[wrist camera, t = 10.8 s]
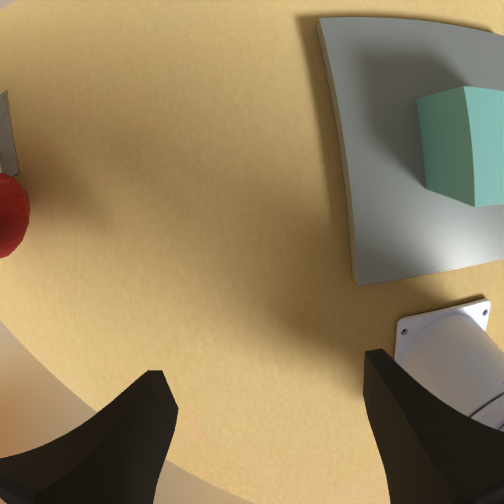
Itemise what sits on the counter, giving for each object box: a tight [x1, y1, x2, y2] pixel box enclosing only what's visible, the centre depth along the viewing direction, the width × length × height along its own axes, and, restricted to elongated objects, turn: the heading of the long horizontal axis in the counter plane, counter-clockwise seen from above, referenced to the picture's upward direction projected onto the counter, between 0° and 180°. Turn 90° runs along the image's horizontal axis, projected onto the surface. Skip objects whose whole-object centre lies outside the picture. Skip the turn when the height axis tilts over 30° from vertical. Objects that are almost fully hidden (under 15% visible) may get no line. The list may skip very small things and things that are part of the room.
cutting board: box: [316, 17, 504, 286], centre depth 15 cm, size 15×14×2 cm
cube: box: [416, 86, 504, 207], centre depth 12 cm, size 5×5×5 cm
